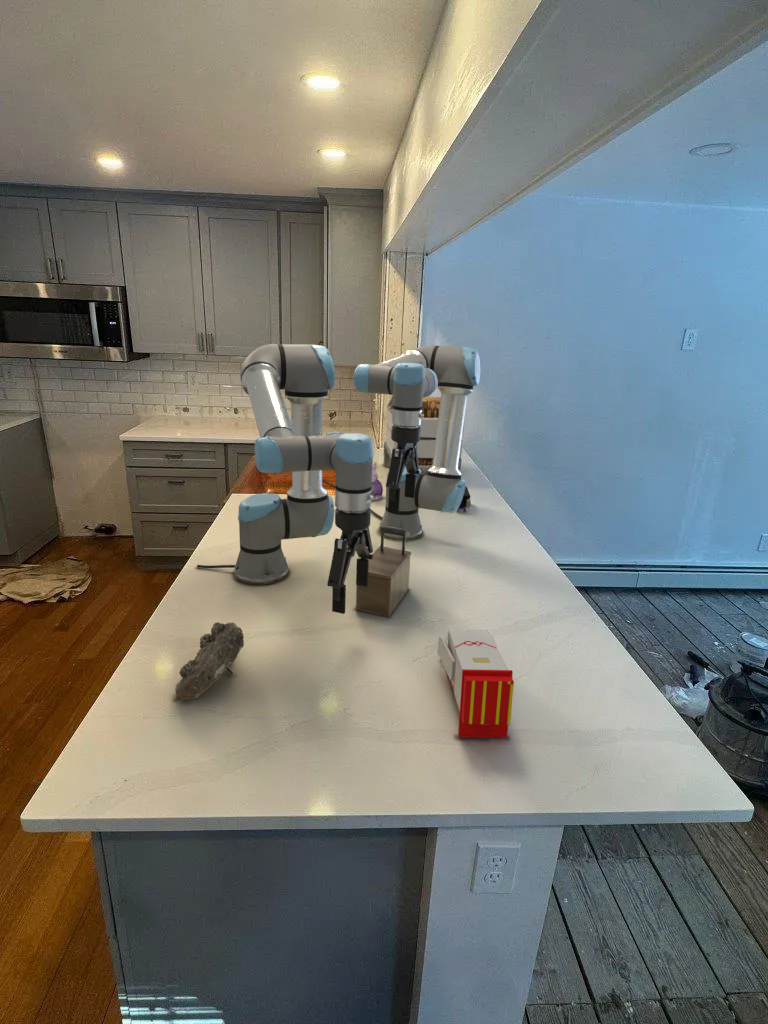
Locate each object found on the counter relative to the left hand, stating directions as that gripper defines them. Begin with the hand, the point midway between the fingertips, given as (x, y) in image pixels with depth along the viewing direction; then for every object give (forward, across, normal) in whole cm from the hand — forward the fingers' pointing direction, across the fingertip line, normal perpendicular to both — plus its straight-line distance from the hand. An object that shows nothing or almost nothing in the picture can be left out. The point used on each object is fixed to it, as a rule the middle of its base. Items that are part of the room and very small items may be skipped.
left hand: (350, 598), depth 126 cm
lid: (+3, +26, +1) cm, 27 cm away
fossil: (+14, -19, +23) cm, 33 cm away
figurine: (+13, +106, +34) cm, 112 cm away
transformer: (+13, +152, +26) cm, 155 cm away
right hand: (-12, +33, -1) cm, 35 cm away
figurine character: (+13, +111, -2) cm, 112 cm away
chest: (+14, +26, +1) cm, 29 cm away
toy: (+14, -4, -29) cm, 32 cm away
